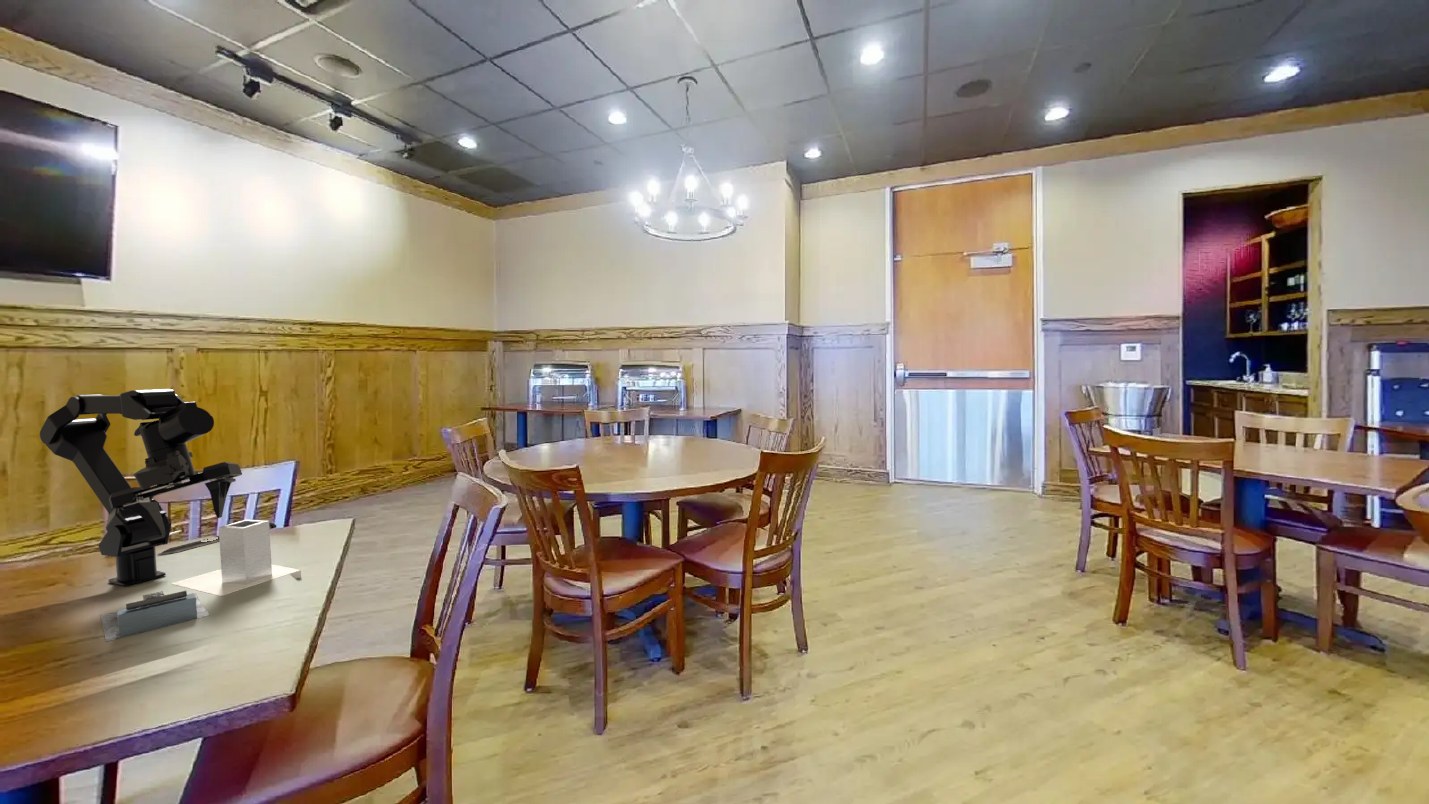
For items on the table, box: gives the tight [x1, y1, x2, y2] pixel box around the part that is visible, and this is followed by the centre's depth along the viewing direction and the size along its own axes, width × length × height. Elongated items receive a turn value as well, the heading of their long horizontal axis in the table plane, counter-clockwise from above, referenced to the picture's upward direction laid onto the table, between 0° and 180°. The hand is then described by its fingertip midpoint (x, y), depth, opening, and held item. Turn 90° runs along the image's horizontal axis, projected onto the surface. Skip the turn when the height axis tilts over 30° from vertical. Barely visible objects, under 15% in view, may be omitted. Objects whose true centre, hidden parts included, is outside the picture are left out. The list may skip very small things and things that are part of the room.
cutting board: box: [170, 563, 302, 597], centre depth 114 cm, size 16×14×2 cm
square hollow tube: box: [218, 519, 273, 585], centre depth 112 cm, size 5×5×11 cm
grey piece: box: [100, 590, 210, 643], centre depth 96 cm, size 14×12×6 cm
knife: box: [157, 521, 277, 556], centre depth 143 cm, size 25×6×1 cm, turn 157°
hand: (191, 526), depth 111 cm, fingers open, 9 cm apart
